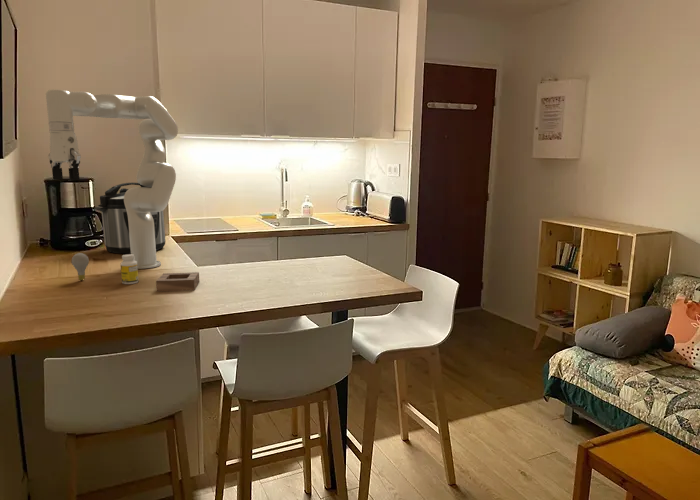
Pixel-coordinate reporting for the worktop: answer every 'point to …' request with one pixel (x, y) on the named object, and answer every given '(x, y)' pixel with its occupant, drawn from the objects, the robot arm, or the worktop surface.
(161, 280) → the socket block
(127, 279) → the supplement bottle
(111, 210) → the pressure cooker
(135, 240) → the robot arm
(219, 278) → the worktop surface
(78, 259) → the light bulb
